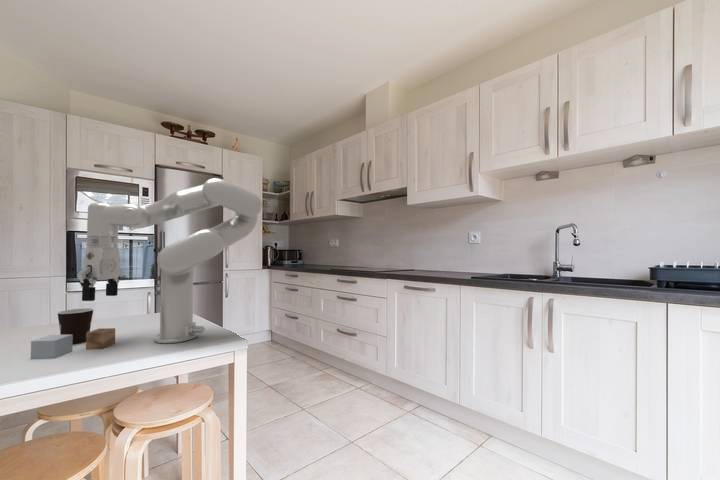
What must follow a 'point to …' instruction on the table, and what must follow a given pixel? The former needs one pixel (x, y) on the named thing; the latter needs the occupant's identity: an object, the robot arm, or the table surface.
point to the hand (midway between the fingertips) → (100, 298)
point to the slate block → (51, 346)
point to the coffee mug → (75, 323)
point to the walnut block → (100, 338)
